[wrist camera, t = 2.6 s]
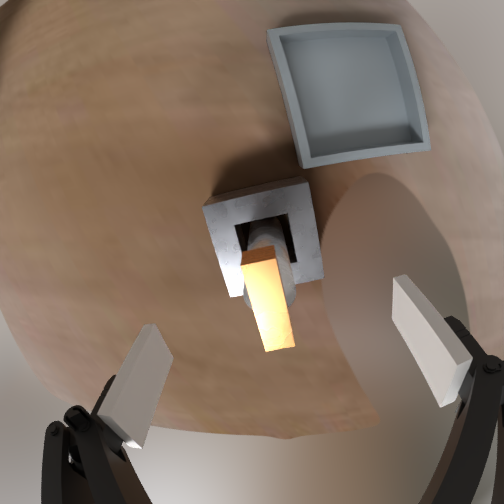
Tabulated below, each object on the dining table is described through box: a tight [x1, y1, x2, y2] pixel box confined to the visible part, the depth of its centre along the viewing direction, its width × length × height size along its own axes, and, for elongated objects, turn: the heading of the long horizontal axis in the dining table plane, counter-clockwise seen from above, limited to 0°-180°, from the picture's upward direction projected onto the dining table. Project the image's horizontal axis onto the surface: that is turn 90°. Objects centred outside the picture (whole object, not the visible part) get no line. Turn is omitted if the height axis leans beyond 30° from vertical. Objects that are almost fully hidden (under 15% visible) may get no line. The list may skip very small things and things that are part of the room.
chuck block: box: [202, 176, 324, 297], centre depth 26 cm, size 9×9×4 cm
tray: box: [266, 22, 431, 169], centre depth 20 cm, size 13×13×3 cm
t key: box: [241, 216, 296, 351], centre depth 21 cm, size 6×3×14 cm, turn 14°
